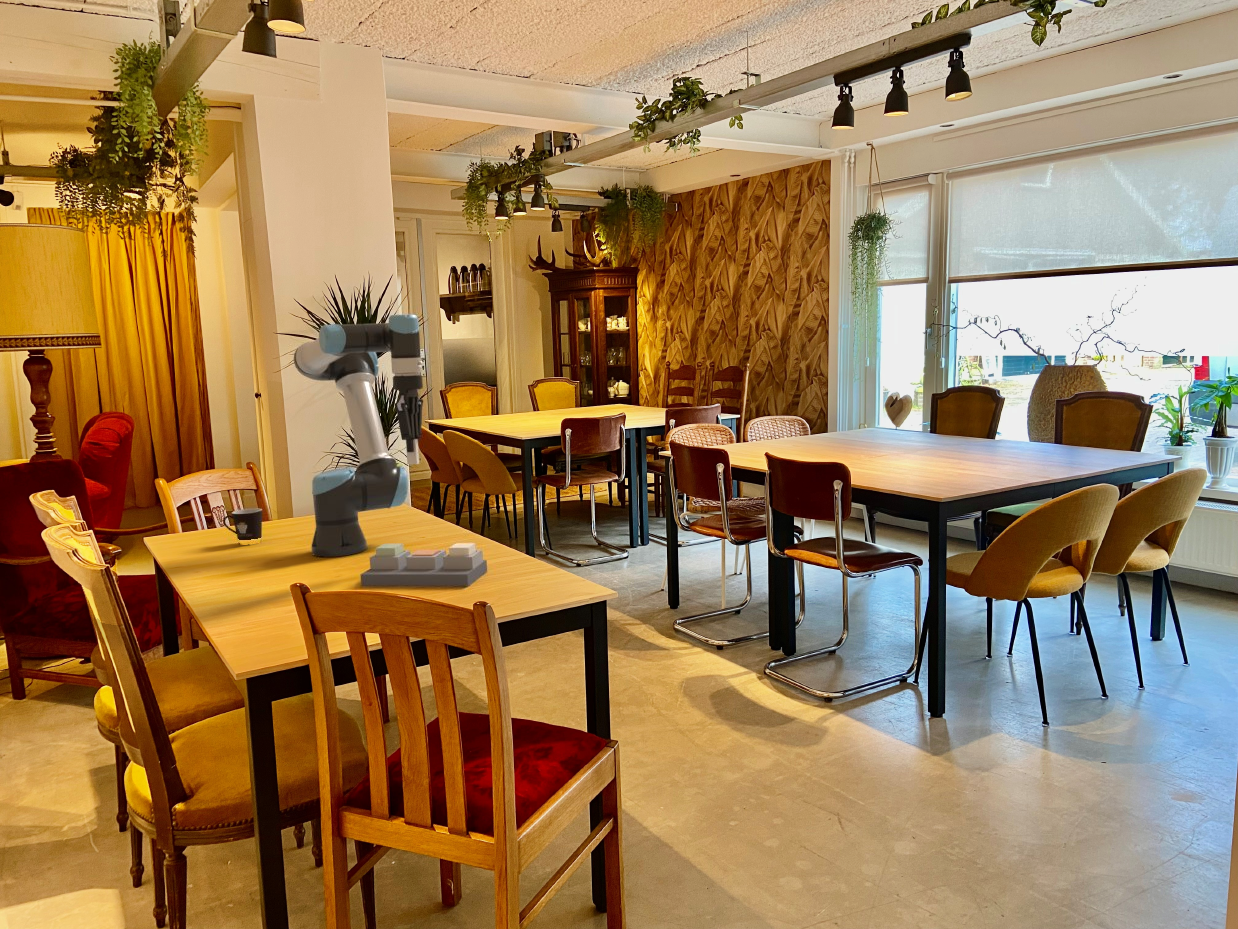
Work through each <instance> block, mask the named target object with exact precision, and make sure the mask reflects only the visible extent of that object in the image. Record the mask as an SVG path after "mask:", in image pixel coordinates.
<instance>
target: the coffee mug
mask: <svg viewBox="0 0 1238 929" xmlns="http://www.w3.org/2000/svg"><path fill="white" fill-rule="evenodd" d="M228 518H230V519H232V520H233V524H234V529H232V528H231V527H230V526H229V525H228V524H227V523H226V520H227V519H228ZM222 522H223V523H222V524H223V525H224V526H225V528H226V529H227V530H229V531H230V532H232V533H234V534H236V537H237V540H238V539H239V540H251V539H258V538H261V537H263V536H262V532H263V531H262V530H263V509H262V508H244V509H238V510H234V511H232V512H231V515H229V514H228V515H226V516H224V517H223V520H222Z"/></svg>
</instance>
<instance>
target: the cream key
mask: <svg viewBox="0 0 1238 929" xmlns="http://www.w3.org/2000/svg"><path fill="white" fill-rule="evenodd" d="M476 550H477V548H476V542H456V543H454V544H452V545H451V546H450V547H448V553H449V556H471V555H473V554H474V553H475V552H476Z"/></svg>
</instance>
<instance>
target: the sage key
mask: <svg viewBox="0 0 1238 929" xmlns="http://www.w3.org/2000/svg"><path fill="white" fill-rule="evenodd" d="M404 550H405V549H404V543H383V544H382V545H379V546H378V547H375V554H376V557H392V556H398V555H400V554H401V553H403V552H404Z"/></svg>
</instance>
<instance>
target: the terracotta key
mask: <svg viewBox="0 0 1238 929" xmlns="http://www.w3.org/2000/svg"><path fill="white" fill-rule="evenodd" d="M418 550H419V551H418ZM418 550H417V551H418V552H416V551H415V552H416V553H414V552H413V553H414V554H413V555H412V556H434V555H436V554H437V553H439V552H440V550H441V549H418Z"/></svg>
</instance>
